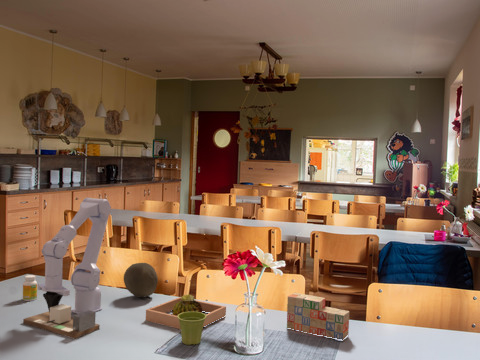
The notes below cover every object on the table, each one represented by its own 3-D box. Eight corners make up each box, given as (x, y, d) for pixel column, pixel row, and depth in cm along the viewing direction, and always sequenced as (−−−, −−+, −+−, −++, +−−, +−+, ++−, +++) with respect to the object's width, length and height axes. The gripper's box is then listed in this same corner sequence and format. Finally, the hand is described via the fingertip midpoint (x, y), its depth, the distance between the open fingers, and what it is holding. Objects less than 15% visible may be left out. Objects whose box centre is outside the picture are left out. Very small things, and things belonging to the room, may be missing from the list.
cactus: (156, 325, 170) (157, 298, 170) (172, 312, 185) (173, 287, 185) (202, 330, 166) (203, 303, 166) (214, 317, 182) (215, 292, 181)
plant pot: (193, 349, 148) (194, 322, 148) (170, 342, 153) (171, 316, 153) (211, 340, 156) (211, 315, 156) (188, 334, 161) (189, 309, 161)
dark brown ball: (146, 291, 213) (146, 258, 213) (163, 298, 203) (164, 264, 202) (117, 296, 204) (118, 262, 203) (134, 304, 193) (135, 268, 193)
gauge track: (49, 315, 176) (49, 297, 176) (99, 329, 163) (99, 310, 163) (23, 323, 167) (23, 304, 166) (74, 338, 154) (74, 318, 154)
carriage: (61, 317, 169) (61, 303, 168) (70, 319, 166) (71, 306, 166) (42, 323, 162) (42, 309, 161) (51, 326, 159) (52, 312, 159)
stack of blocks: (348, 337, 164) (350, 302, 164) (342, 342, 159) (344, 306, 159) (293, 324, 176) (294, 291, 175) (286, 329, 170) (287, 295, 170)
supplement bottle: (31, 301, 192) (31, 278, 191) (19, 300, 193) (20, 277, 193) (39, 298, 197) (40, 275, 197) (28, 297, 198) (28, 274, 198)
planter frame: (179, 306, 192) (180, 296, 192) (225, 316, 181) (226, 306, 181) (145, 320, 174) (145, 309, 174) (194, 332, 163) (194, 321, 163)
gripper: (30, 273, 167) (29, 311, 167) (58, 280, 160) (57, 319, 160) (47, 270, 173) (46, 306, 173) (74, 276, 166) (73, 314, 166)
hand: (52, 312), depth 167 cm, fingers closed
